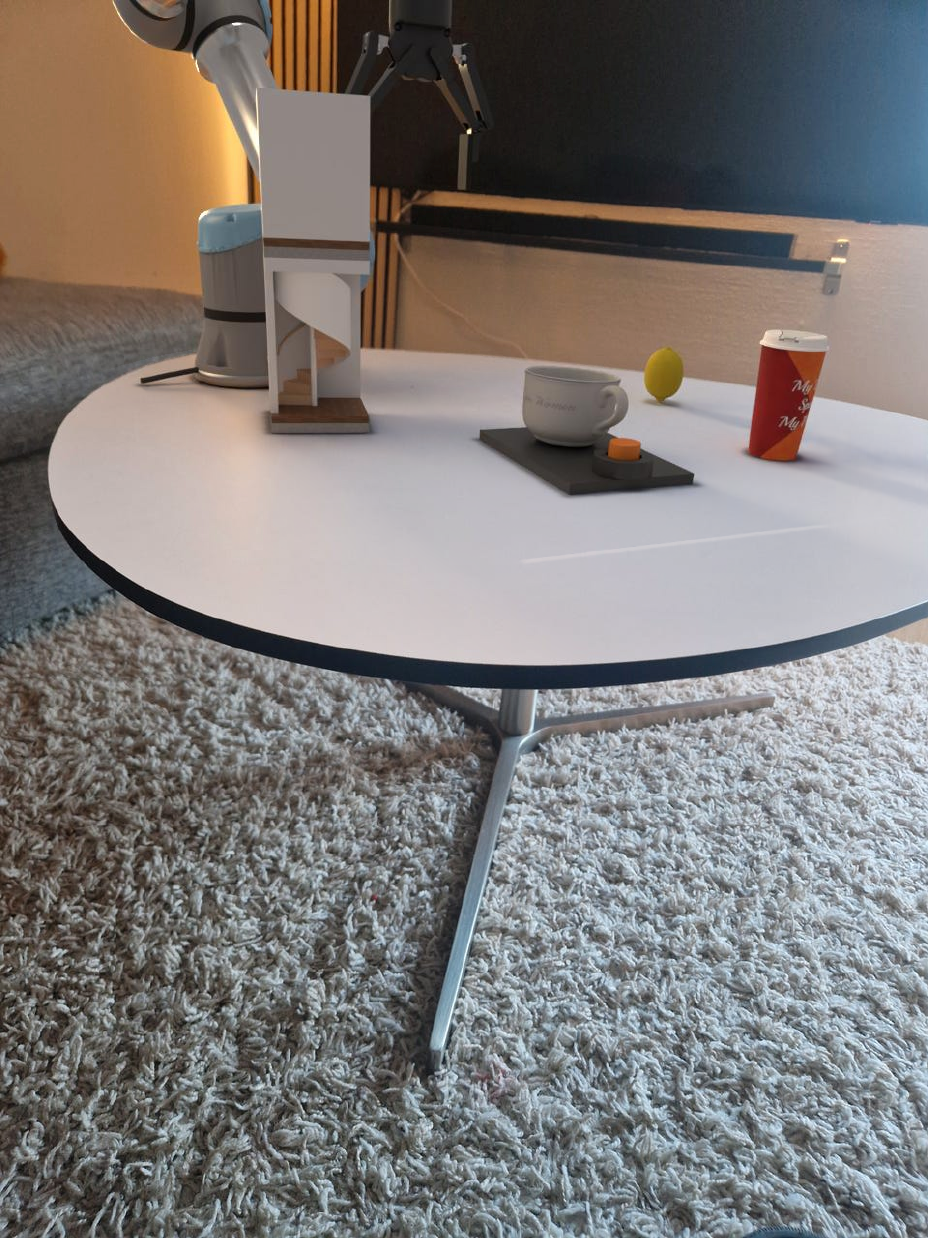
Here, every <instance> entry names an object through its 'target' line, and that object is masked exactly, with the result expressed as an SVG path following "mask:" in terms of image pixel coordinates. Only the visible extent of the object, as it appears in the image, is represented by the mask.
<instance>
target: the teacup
mask: <svg viewBox="0 0 928 1238" xmlns="http://www.w3.org/2000/svg"><path fill="white" fill-rule="evenodd" d="M621 382H622V378H620V377H619V376H618V375H615V374H612V373H609V372H603V371H599V370H593V369H592V370H591V369H586V368H580V367H570V366H569V367H568V366H556V365H555V366H554V365H535V366H527V367H526V368H525V369H524V382H523V383H524V384H523V390H522V391H523V392H522V403H521V405H522V406H521V407H522V408H521V413H522V414H521V416H522V420H523V424H524V426H525V427H527V428H528V429H529V430H530V431H531V432H532V433H533V435H534V437H535V438H536V439H538V440H540V441H543V442H546V443H549V444H554V445H560V446H571V447H580V446H590V445H592V444H594V443H595V442H596V441H597V440H598V439H600V438H601V437H603V436H604V435H605V434H606V433H609V431H610V429H611V428H613V427H615V426H617V425H619V424H620V423H621V422H622V421H623V420H624V419H625V417H626V415H627V413H628V410H629V406H630V405H629V397H628V393H627V392H626V390H625V389H624V388H623V387H622V386H620V384H621Z"/></svg>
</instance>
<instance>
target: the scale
mask: <svg viewBox="0 0 928 1238" xmlns="http://www.w3.org/2000/svg"><path fill="white" fill-rule="evenodd" d="M614 438H619V437H618V436H616V435H614V434H611V433H609V432H607V433H606V434H605V435H604V436H603V437H601V438H600V439H598V440H597V441H596V442H595V443H594V444H592V445H590V446H580V447H571V446H560V445H554V444H549V443H546V442H543V441H540V440H538V439H536V438H535V437H534V435H533V433H532V432H531V431H530V430H529V429H528V428H527V427H526V426H524V427H507V428H506V427H505V428H504V427H503V428H487V429H479V439H478V440H480V441H482V442H483V443H485V444H486V445H488V446H490V447H491V448H492V449H495V450H496V451H498V452H499V453H501V454H502V455H504V456H506V457H507V458H509V459H511V460H512V461H514V462H516V463H517V464H519V465H520V466H522V467H524V468H525V469H527V470H528V471H530V472H532V473H533V474H535V475H536V476H538V477H540V478H541V479H543V480H544V481H546V482H547V483H550V484H551V485H553V486H554V487H556V488H557V489H559V490H561V491H562V492H563V493H565V494H567V495H569V496H574V495H584V494H596V493H607V492H619V491H629V490H640V489H652V488H662V487H663V488H664V487H676V486H685V485H693V484H694V479H695V473H694V472H693V471H692V472H691V471H690V470H688V469H686V468H684V467H681V466H679V465H677V464H675V463H673V462H671V461H668V460H666V459H665V458H662V457H660V456H658V455H656V454H654V453H651V452H650V451H647V450H645V449H643V448H641V447H640V455H639V459H638V460H620V459H615V458H611V457H609V456H608V451H609V443H610V440H611V439H614Z"/></svg>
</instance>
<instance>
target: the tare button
mask: <svg viewBox="0 0 928 1238" xmlns="http://www.w3.org/2000/svg"><path fill="white" fill-rule="evenodd" d="M641 447H642V443H641V442H640V441H639V440H636V439H634V438H628V437H618V438H614V439H611V440H610V443H609V451H608V456H609V457H611V458H615V459H620V460H638V459H639V455H640V448H641Z"/></svg>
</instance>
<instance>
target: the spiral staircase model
mask: <svg viewBox="0 0 928 1238" xmlns="http://www.w3.org/2000/svg"><path fill="white" fill-rule="evenodd" d="M256 103H257V125H258V148H259V170H260V184H259V189H260V191H259V193H260V203H261V215H262V238H263V260H264V282H265V305H266V327H267V350H268V372H269V387H268V391H269V393H268V395H269V413H270V428H271V434H352V433H353V434H365V433H370V414H369V413H368V410H367V409H366V406H365V404H364V402H363V400H362V398H361V292H360V274H366V275H370V229H371V185H370V126H371V116H370V96H368V95H363V94H360V95H351V94H345V93H337V92H322V91H310V90H297V89H282V88H279V89H271V88H256Z"/></svg>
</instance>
